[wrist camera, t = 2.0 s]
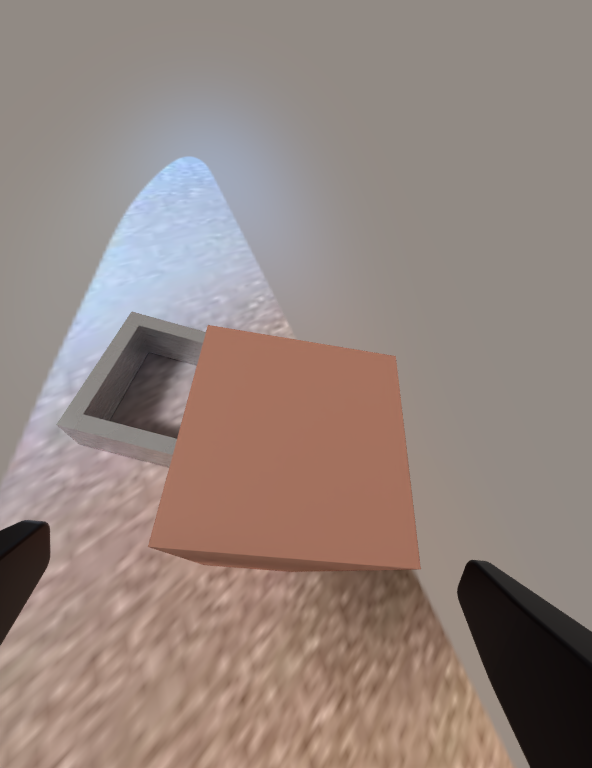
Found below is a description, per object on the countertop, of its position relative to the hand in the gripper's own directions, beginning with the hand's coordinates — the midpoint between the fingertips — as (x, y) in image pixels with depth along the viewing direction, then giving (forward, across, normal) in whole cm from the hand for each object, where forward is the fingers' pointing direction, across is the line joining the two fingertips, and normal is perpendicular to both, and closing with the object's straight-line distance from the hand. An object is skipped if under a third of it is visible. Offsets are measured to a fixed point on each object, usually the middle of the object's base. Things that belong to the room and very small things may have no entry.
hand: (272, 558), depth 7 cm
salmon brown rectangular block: (+8, 0, +5) cm, 10 cm away
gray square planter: (+12, +5, +1) cm, 13 cm away
